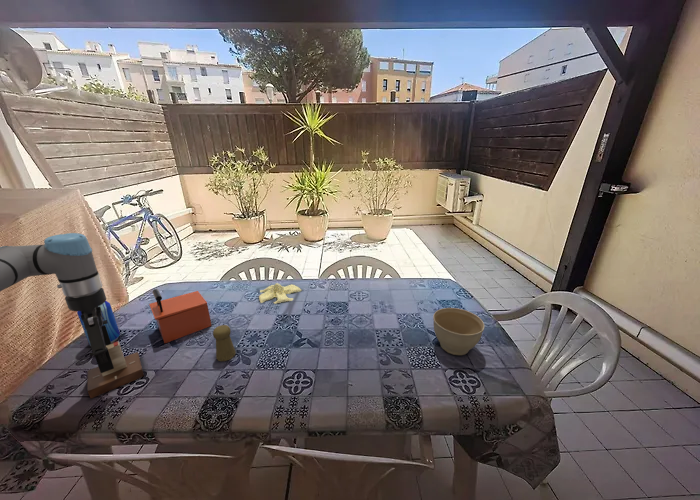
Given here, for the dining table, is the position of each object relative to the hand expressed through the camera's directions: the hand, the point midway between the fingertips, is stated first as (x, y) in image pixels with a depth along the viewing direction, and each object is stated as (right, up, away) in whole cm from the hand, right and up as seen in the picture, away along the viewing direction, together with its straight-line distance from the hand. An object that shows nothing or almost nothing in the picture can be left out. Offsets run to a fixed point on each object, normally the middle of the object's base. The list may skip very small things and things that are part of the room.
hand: (106, 357), depth 79 cm
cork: (+29, -4, +12) cm, 32 cm away
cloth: (+36, +10, +51) cm, 63 cm away
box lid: (+7, +10, +23) cm, 26 cm away
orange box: (+7, +1, +26) cm, 27 cm away
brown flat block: (+1, -7, +3) cm, 8 cm away
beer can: (-17, -2, +18) cm, 25 cm away
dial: (+1, -4, +2) cm, 5 cm away
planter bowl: (+107, -3, +17) cm, 109 cm away
